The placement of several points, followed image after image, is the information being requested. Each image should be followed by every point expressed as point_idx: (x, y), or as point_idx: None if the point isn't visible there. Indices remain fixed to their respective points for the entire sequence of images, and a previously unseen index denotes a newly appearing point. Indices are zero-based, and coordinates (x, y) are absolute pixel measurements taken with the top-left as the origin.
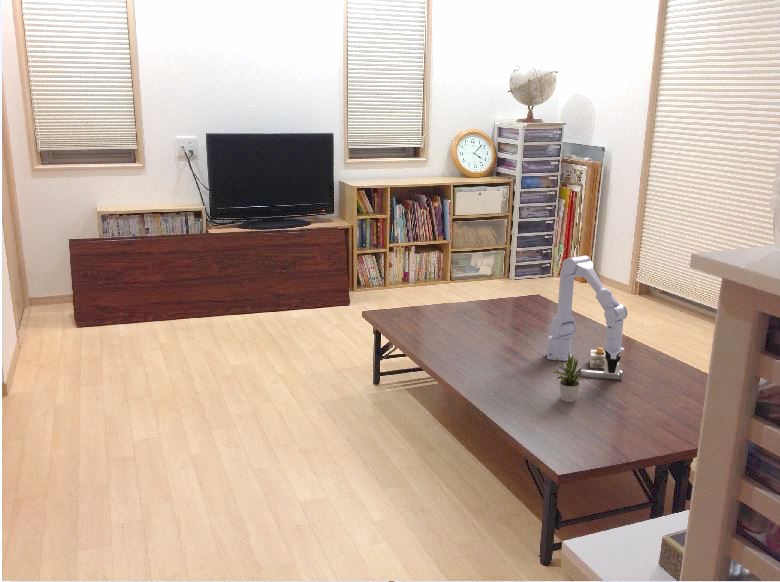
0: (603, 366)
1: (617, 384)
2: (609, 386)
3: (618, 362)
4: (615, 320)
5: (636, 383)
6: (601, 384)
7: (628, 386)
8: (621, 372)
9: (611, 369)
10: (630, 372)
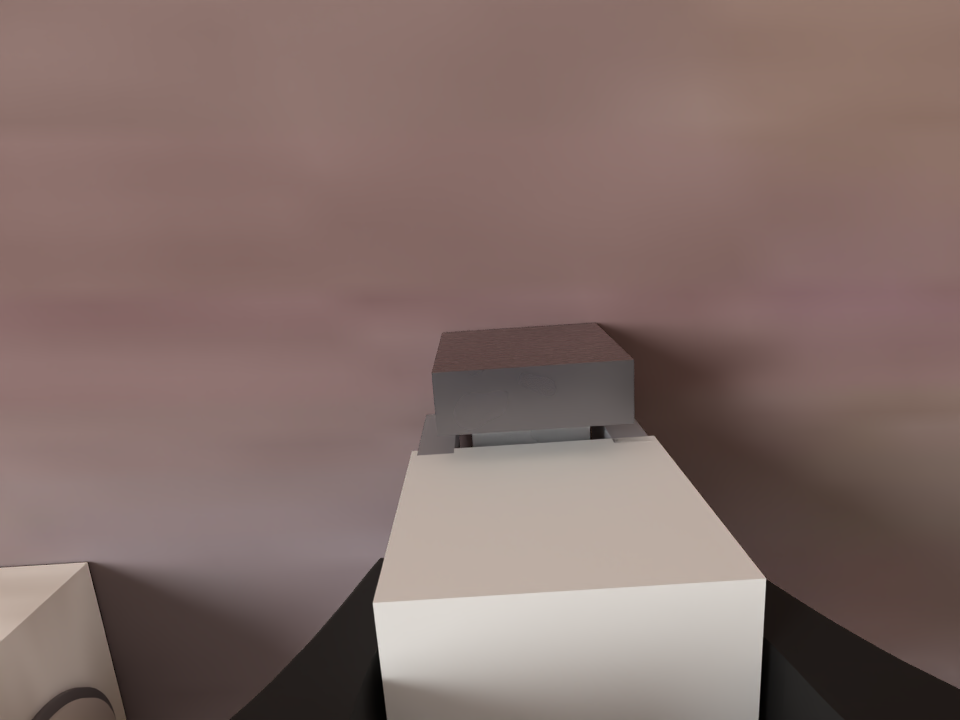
0: (83, 665)
1: (819, 392)
2: (936, 515)
3: (522, 600)
4: None
5: (692, 25)
6: (865, 633)
7: (887, 191)
8: (613, 382)
9: None
10: (90, 158)
